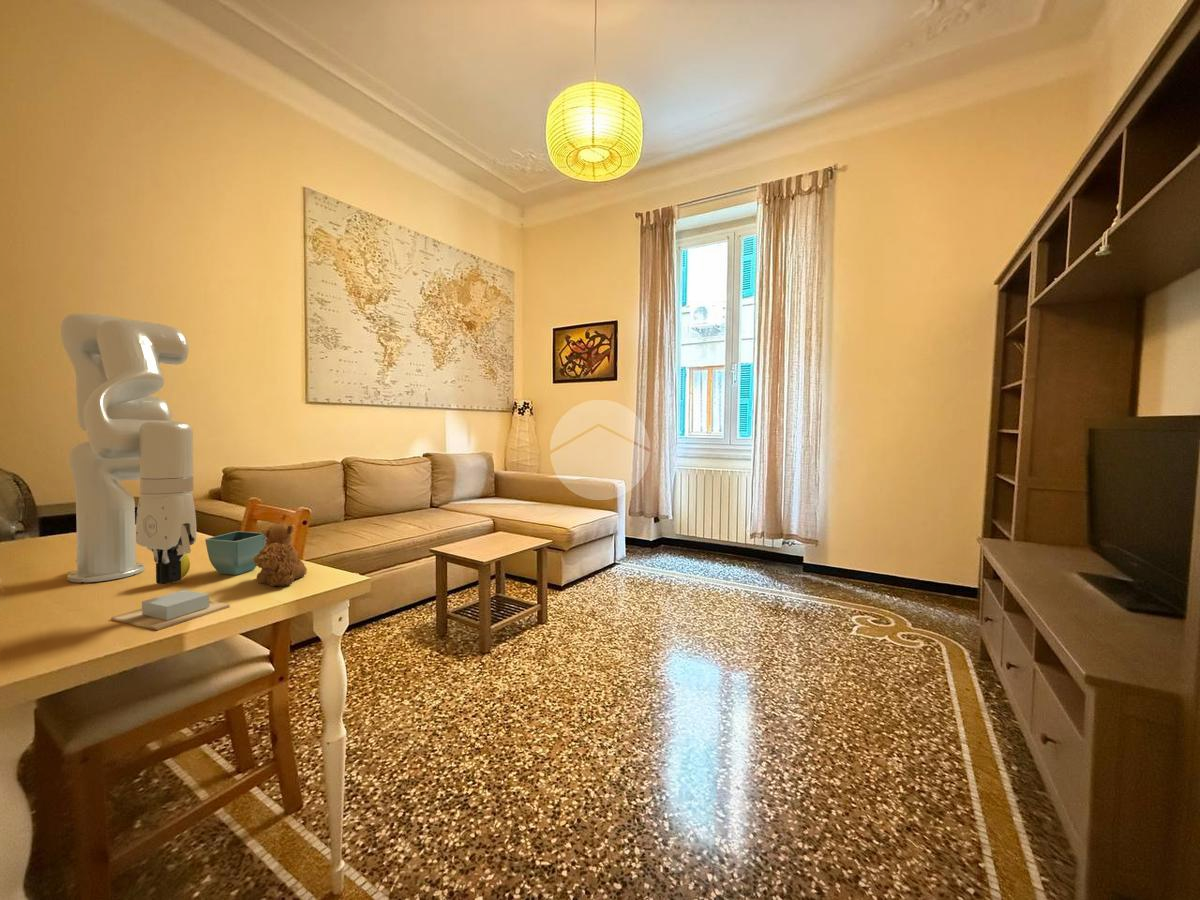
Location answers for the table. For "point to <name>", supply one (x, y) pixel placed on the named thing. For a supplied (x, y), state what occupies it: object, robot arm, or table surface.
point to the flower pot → (234, 551)
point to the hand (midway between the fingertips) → (168, 581)
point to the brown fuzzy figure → (279, 557)
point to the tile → (175, 604)
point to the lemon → (184, 566)
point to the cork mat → (159, 624)
